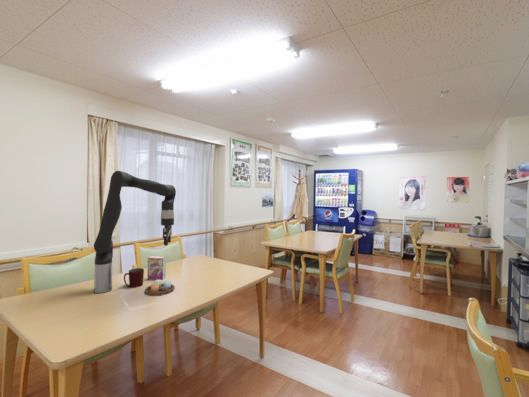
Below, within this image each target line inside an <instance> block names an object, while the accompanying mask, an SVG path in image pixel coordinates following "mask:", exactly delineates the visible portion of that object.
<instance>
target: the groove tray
mask: <svg viewBox="0 0 529 397" xmlns="http://www.w3.org/2000/svg"><path fill="white" fill-rule="evenodd" d="M174 291H175V285H174V284H173V283H171V289H170V290H168V291H163V282H162V287H159V292H151V285H149V286H147V287H145V289H144V293H145V294H146V295H147V296H152V297H155V296H156V297H157V296H164V295H168V294H170V293H172V292H174Z"/></svg>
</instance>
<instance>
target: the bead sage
mask: <svg viewBox="0 0 529 397" xmlns="http://www.w3.org/2000/svg"><path fill="white" fill-rule="evenodd" d="M162 281H163V280H160V279H158V280H153V284H154V283H158V284H159V287H162V283H163V282H162Z"/></svg>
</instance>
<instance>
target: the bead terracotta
mask: <svg viewBox="0 0 529 397" xmlns="http://www.w3.org/2000/svg"><path fill="white" fill-rule="evenodd" d="M150 286H151V292H159V284H158V283H154V282H153V283H151V284H150Z"/></svg>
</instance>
